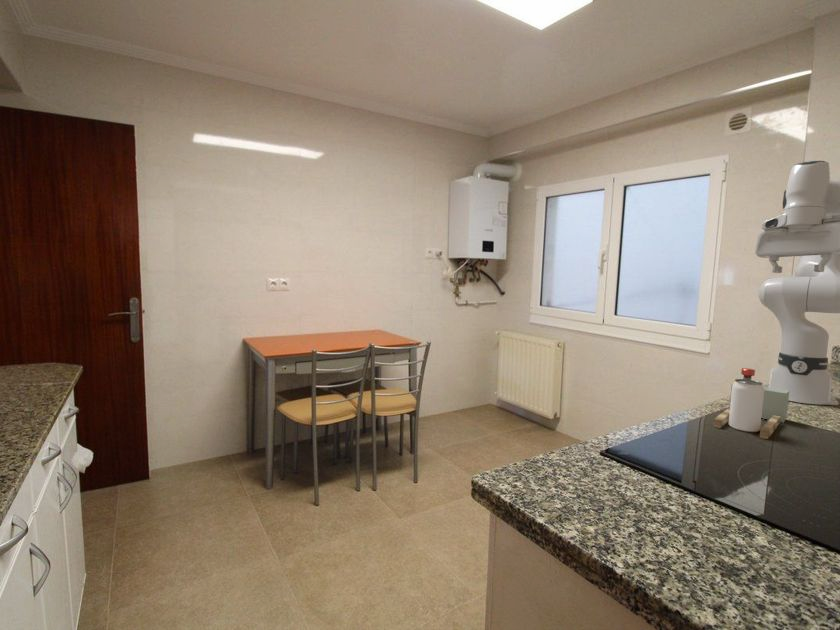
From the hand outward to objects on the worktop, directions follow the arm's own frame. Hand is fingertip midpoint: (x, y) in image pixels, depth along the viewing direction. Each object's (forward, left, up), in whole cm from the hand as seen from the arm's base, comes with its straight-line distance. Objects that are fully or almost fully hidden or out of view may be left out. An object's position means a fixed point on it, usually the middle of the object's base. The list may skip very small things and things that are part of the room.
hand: (797, 272), depth 120 cm
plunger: (+6, -8, -35) cm, 36 cm away
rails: (+18, -5, -40) cm, 44 cm away
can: (+22, -5, -40) cm, 46 cm away
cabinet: (+6, -5, -40) cm, 40 cm away
